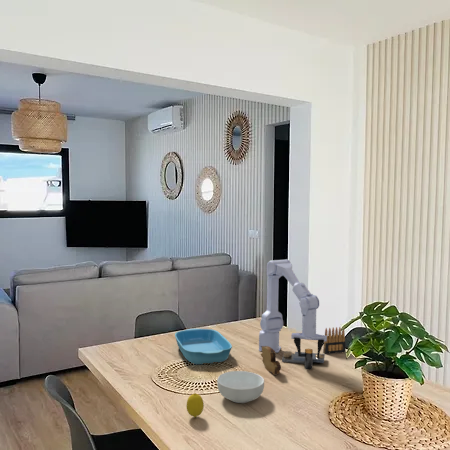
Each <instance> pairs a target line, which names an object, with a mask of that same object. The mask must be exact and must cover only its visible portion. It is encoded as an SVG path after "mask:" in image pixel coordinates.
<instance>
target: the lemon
mask: <svg viewBox="0 0 450 450" xmlns="http://www.w3.org/2000/svg"><path fill="white" fill-rule="evenodd" d="M203 410H204V400H203V397H202V396H201V395H200V394H198V393H196V392H194V393H193V394H191V395H189V396H188V398H187V401H186V411H187V414H188V415H190V416H191V417H193V418H194V419H195V418H197V417H199V416H200V415H201V414H202V413H203Z"/></svg>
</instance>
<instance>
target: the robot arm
mask: <svg viewBox="0 0 450 450" xmlns="http://www.w3.org/2000/svg"><path fill="white" fill-rule="evenodd" d="M266 277H267V280H266V281H267V286H266V287H267V288H266V310H265V312H264V311H263V313H262V314H261V319H260V322H259V324H260V328H261V330H259V334H258V351H259V352H262V346H269V347H271V348H272V349H273V350H274V351H275V353H280V350H281V348H282V347H281V345H280V332H281V330H282V329H283V327H284V320H283V314H282V313H281V312H280V311H279V283H280V282H279V279H280V278H281V277H284V278H285V279H286V280H287V281H288V283H289V284H290V285H291V286H292V292H293V294H294V295H295V296H296V298H297V299H298V301H299V307H300V311H301V315H302V323H301V326H302V328H301V329H302V330H301V332H296V333H295V332H292V333H291V340H293V343H294V345H295V348H296V350H297V352H298V355H299V356H301V352H302V351H301V350H302V349H301V342H302V340H308V341H309V340H310V341H317V358H319V354H321V352H322V351H321V350H322V348H323V347H324V341H327V336H325V334H324V335H323V334H319V333H317V309H319V307H320V300H319V298H318V296H317V295H315V294H313V293H311V292H310V290H309V289H308V288H307V286H306V284H305V283H304V282H300V281H299V279H298V277H297V275H296V273H295V272H294V270H293V264H292V263H291V261H290V259H287V258H286V259H274V260H273V259H272V260H269V261H268V262H267V263H266Z"/></svg>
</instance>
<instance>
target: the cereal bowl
mask: <svg viewBox="0 0 450 450" xmlns="http://www.w3.org/2000/svg"><path fill="white" fill-rule="evenodd" d="M216 383H217V385H216V386H217V389H218V392H219V394H221V396H222V397H224V398H225V399H227V400H230V401H231V402H233V403H236V404H246V403H249V402H251V401H255V400H257V399H258V398H260V397H261V395H262V393H263V392H264V388H265V379H264V377H263V376H261V375H260V374H258V373H255V372H251V371H245V370H233V371H232V370H231V371H226V372H223V373H221V374H220V375H219V376H218V377H217V381H216Z"/></svg>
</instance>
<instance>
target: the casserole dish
mask: <svg viewBox="0 0 450 450" xmlns="http://www.w3.org/2000/svg"><path fill="white" fill-rule="evenodd" d="M174 337H175V340H176V341H175V342H176V343H177V344H176V345H177V347H178V348H179V350H180V352H181V353H182V355H183V357H184V358H185V359H186V361H188V362H189V363H190V362H191V364H192V363H194V364H193V365H204V364H203V363H210V364H214V363H213V362H218V363H222V362H224V361H227V360H228V358H229V357H230V353H231V350H232V349H233V345H232V344H231V342H230V341H229V340H228V339H227V338H226V337H225V336H224V335H223V334H221V332H219V331H218V330H215V329H210V328H196V327H195V328H187V329H184V330H179V331H177V332H175V334H174Z"/></svg>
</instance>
